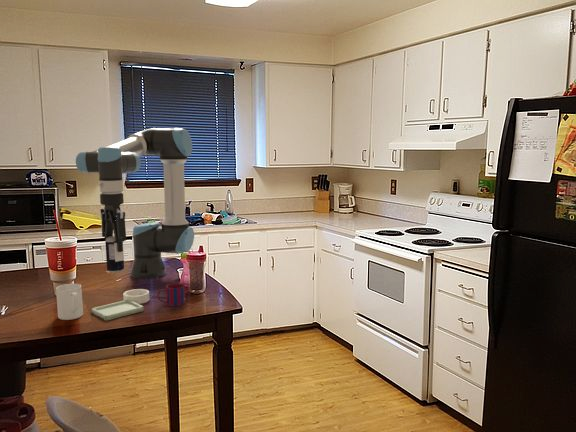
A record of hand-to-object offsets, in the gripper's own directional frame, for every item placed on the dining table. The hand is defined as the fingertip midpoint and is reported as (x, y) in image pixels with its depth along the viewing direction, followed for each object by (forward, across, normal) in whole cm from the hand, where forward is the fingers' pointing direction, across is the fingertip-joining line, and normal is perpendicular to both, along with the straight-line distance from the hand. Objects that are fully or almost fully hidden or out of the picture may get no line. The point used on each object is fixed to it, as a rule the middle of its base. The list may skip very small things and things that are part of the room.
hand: (115, 259), depth 177 cm
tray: (+19, 0, 0) cm, 19 cm away
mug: (+19, -5, -14) cm, 24 cm away
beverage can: (+5, 0, 0) cm, 5 cm away
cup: (+19, +6, +18) cm, 27 cm away
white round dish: (+19, -7, +11) cm, 23 cm away
